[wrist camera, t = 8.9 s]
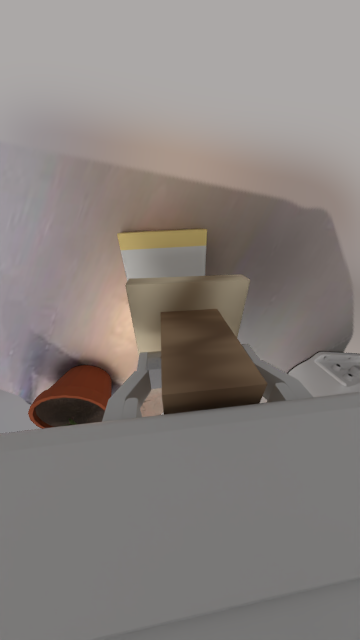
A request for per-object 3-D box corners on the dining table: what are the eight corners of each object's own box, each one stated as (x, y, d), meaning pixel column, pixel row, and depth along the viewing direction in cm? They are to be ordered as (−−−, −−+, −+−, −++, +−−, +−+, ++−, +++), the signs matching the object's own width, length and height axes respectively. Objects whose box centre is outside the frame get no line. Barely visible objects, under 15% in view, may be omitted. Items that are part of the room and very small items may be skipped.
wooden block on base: (241, 274, 13) (342, 338, 6) (225, 355, 18) (271, 446, 11) (129, 278, 12) (84, 359, 5) (143, 362, 17) (131, 466, 10)
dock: (202, 228, 24) (213, 230, 19) (199, 318, 33) (206, 336, 28) (121, 232, 23) (111, 235, 18) (140, 323, 32) (136, 342, 27)
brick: (152, 369, 40) (151, 386, 36) (180, 379, 43) (182, 395, 39) (125, 405, 46) (122, 422, 42) (151, 411, 49) (151, 427, 45)
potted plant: (37, 367, 35) (-292, 757, 9) (104, 351, 35) (-47, 709, 9) (74, 403, 43) (-50, 669, 17) (129, 391, 43) (84, 643, 17)
